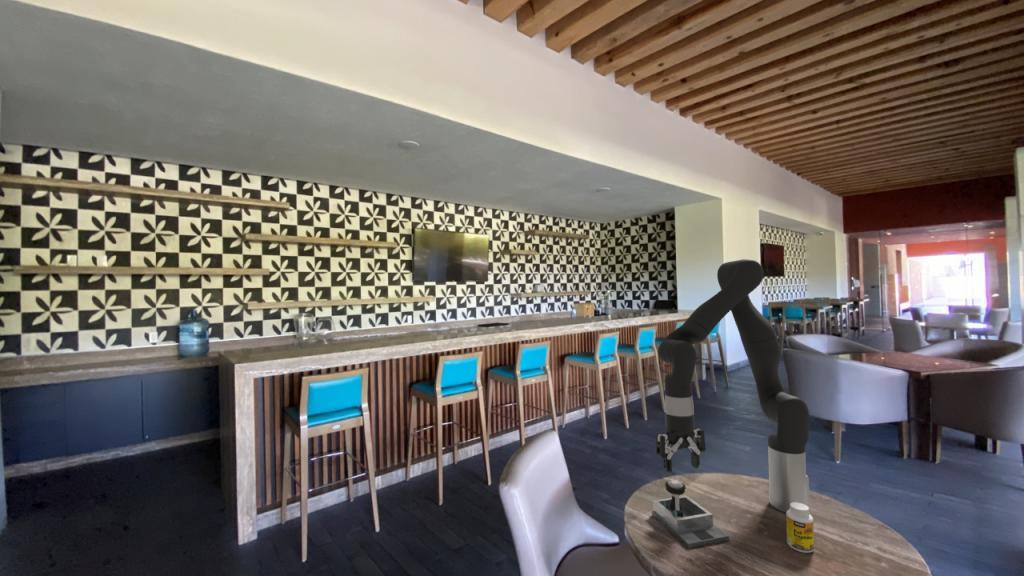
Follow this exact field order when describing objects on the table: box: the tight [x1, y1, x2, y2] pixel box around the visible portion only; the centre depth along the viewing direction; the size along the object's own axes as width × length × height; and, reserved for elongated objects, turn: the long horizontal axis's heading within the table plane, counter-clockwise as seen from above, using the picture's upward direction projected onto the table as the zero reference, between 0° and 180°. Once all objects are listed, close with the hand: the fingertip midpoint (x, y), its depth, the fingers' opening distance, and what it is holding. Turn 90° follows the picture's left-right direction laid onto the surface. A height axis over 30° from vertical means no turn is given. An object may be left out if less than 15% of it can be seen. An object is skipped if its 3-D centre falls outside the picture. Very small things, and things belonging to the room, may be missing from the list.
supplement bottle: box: [785, 502, 815, 554], centre depth 102 cm, size 6×6×10 cm
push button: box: [664, 478, 687, 518], centre depth 114 cm, size 7×5×10 cm
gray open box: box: [651, 494, 730, 550], centre depth 112 cm, size 12×16×4 cm
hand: (681, 469), depth 114 cm, fingers open, 8 cm apart
